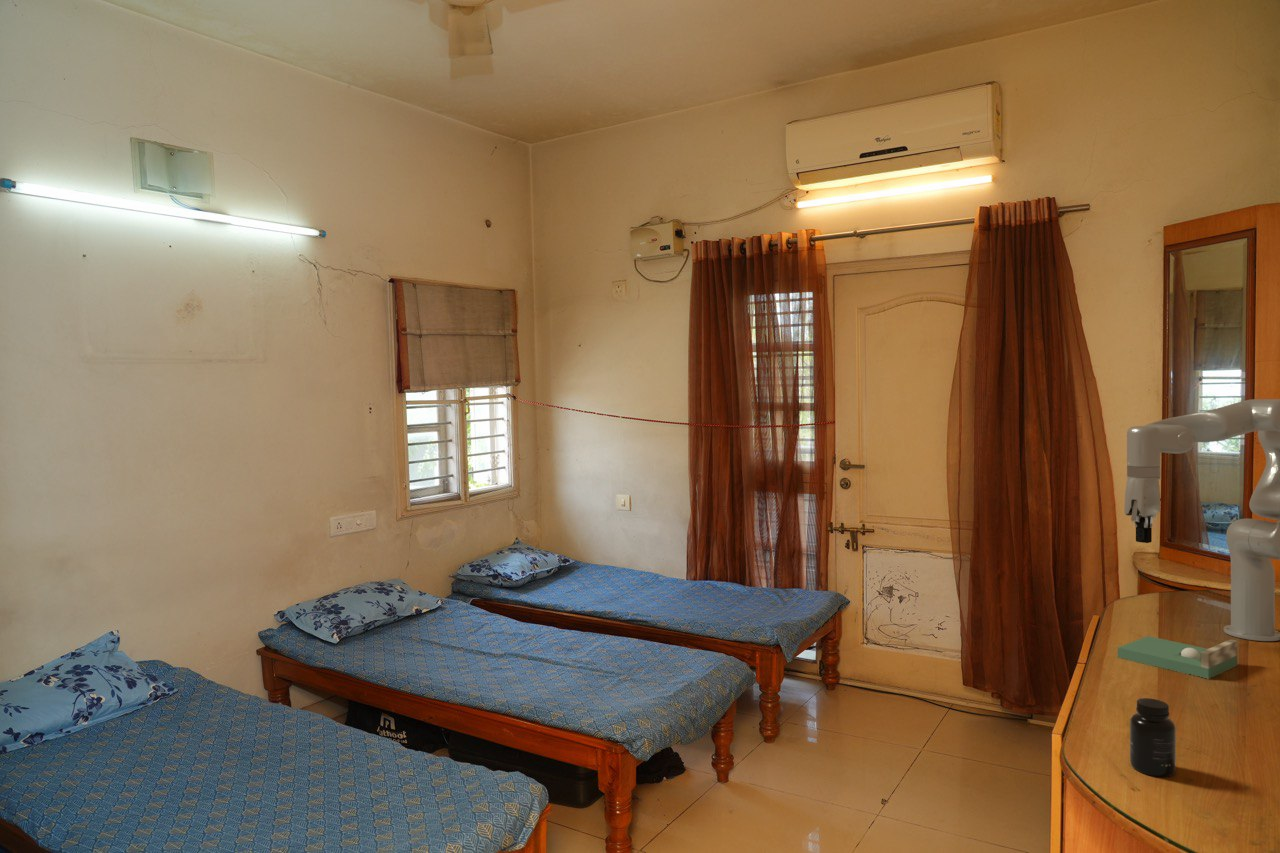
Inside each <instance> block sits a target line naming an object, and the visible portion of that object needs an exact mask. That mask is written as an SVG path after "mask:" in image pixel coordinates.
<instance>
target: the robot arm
mask: <svg viewBox="0 0 1280 853" xmlns="http://www.w3.org/2000/svg"><path fill="white" fill-rule="evenodd" d="M1252 432H1257V439H1258V441H1259V444H1260V446H1261V448H1262V450H1263V452H1264V455H1265V460H1266V461H1265V467H1264V470H1263V472H1262V474H1261V476H1260V478H1259V480H1258V481H1257V484H1256V486H1255V488H1254V490H1253V492H1252V494H1251V497H1250V499H1249V503H1248V506H1249V509H1250V511H1251V513H1253V514H1254V515H1256V516H1258V517H1260V518H1263V519H1268V520H1275V521H1277V522H1274V521H1268V520H1262V519H1255V518H1240V519H1237V520H1234V521H1232V522H1231V523H1230V524H1229V525H1228V527H1227V529H1226V535H1225V537H1226V543H1227V547H1228V552H1229V556H1230V624H1227V625H1225V626H1224V627H1223V632H1224V633H1225V634H1227V635H1229V636H1231V637H1233V638H1234V637H1235V638H1239V639H1243V640H1249V641H1259V642H1276V641H1278V642H1279V641H1280V632H1279V631H1278V630H1276V628H1275V626H1276V625H1275V624H1276V623H1275V622H1276V617H1275V616H1276V615H1275V614H1276V611H1275V608H1276V606H1275V605H1276V603H1275V602H1276V599H1275V598H1276V594H1275V593H1276V591H1275V589H1276V583H1275V582H1276V573H1275V572H1276V571H1275V567H1274V564H1273V562H1272V560H1277V561H1280V398H1265V399H1264V398H1260V399H1259V398H1255V399H1254V398H1253V399H1252V398H1251V399H1247V400H1241V401H1239V402H1235V403H1231V404H1229V405H1225V406H1224V405H1223V406H1220V407H1217V408H1214V409H1210V410H1205V411H1200V412H1195V413H1190V414H1185V415H1184V414H1183V415H1178V416H1174V417H1168V418H1164V419H1161V420H1158V421H1154V422H1151V423H1148V424H1145V425H1135V426H1131V427H1129V428H1128V429H1127V431H1126V479H1127V480H1126V485H1125V491H1124V509H1123V510H1124V515H1126V516H1131V522H1134V527H1135V542H1137V543H1143V544H1150V543H1152V540H1153V539H1152V536H1153V535H1152V534H1153V533H1152V531H1153V530H1152V529H1153V528H1152V527H1153V520H1155V518H1156V515H1158V514H1159V513H1160V512H1161V492H1160V480H1161V454H1162V453H1163V454H1164V453H1165V454H1177V455H1178V454H1179V455H1180V454H1184V453H1187V452H1189V451H1191V450H1192V449H1193V448H1194V447H1195V444H1196V443H1212V442H1220V441H1221V442H1222V441H1225V440H1228V439H1232V438H1236V437H1238V436H1242V435H1246V434H1250V433H1252Z"/></svg>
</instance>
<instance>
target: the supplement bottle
mask: <svg viewBox="0 0 1280 853" xmlns="http://www.w3.org/2000/svg"><path fill="white" fill-rule="evenodd" d="M1169 708H1170V706H1169V704H1168V703H1166V702H1165V701H1163V700H1160V699H1155V698H1150V697H1148V698H1147V697H1146V698H1145V697H1142V698H1138V699H1137V700H1136V708H1135V709H1136V713H1134V714H1133V715H1131V717H1130V720H1129V727H1130V728H1129V733H1130V734H1129V761H1130V763H1129V764H1130V765H1131V767H1132V768H1133V769H1134V770H1136V771H1137V772H1139V773H1141V774H1143V775H1146V776H1149V777H1156V778H1168V777H1171V776H1174V774H1175V773H1176V760H1177V759H1176V752H1177V751H1176V743H1177V742H1176V733H1177V732H1176V725H1175V723H1174V722H1173V720H1172V719H1170V718H1169V717H1170V712H1169V711H1170V710H1169Z"/></svg>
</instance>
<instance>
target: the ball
mask: <svg viewBox="0 0 1280 853" xmlns="http://www.w3.org/2000/svg"><path fill="white" fill-rule="evenodd" d="M1181 656H1184V657H1188V658H1192V659H1197V660H1200V659H1201V656H1200V654H1199V652H1198V651H1197V650H1196V649H1193V648H1185V649H1183V650H1182V652H1181Z"/></svg>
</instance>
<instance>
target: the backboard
mask: <svg viewBox="0 0 1280 853" xmlns="http://www.w3.org/2000/svg"><path fill="white" fill-rule="evenodd" d="M1206 649H1207V650H1205V651H1202V652H1201V667H1204V668H1208V669H1209V668H1211V667H1213V666H1215V665H1217V664H1219V663H1221V662H1224V661H1226V660H1228V659H1230V658H1232V657H1234V656H1236V655H1237V656H1238V640H1235V639H1228V640H1225V641H1223V642H1221V643H1219V644H1216V645H1213V646H1212V647H1209V648H1206Z"/></svg>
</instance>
